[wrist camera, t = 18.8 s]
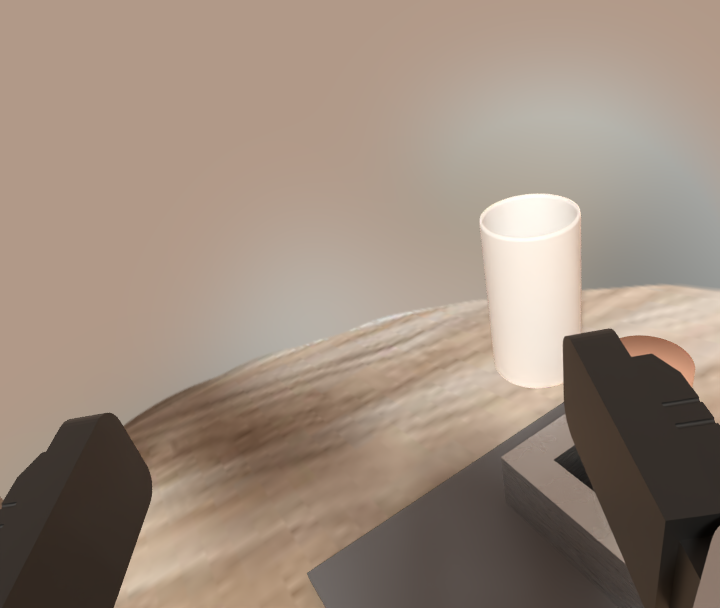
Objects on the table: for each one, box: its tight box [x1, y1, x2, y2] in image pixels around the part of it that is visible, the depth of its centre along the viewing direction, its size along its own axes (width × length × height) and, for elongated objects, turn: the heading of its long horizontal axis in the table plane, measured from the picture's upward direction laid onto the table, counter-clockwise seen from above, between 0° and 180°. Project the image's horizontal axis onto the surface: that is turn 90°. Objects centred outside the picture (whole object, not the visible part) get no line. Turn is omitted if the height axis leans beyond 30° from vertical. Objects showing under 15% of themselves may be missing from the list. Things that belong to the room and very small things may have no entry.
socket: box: [501, 414, 644, 608], centre depth 40 cm, size 12×12×5 cm
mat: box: [307, 402, 619, 608], centre depth 41 cm, size 17×28×1 cm, turn 121°
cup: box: [480, 194, 581, 388], centre depth 53 cm, size 8×8×16 cm
